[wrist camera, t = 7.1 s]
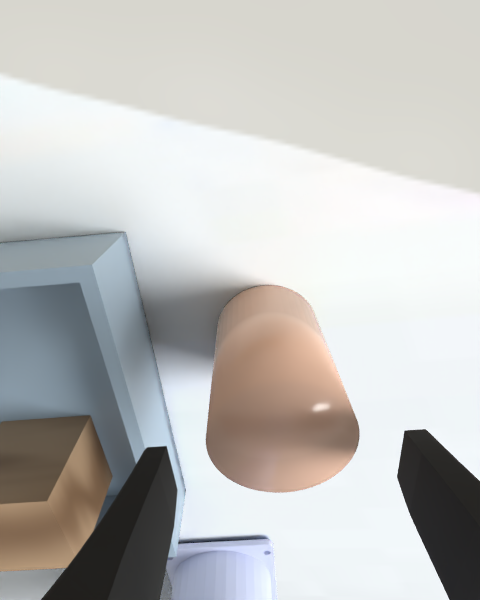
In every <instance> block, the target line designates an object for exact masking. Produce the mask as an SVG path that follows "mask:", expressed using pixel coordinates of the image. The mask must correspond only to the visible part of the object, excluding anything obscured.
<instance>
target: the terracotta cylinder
mask: <svg viewBox="0 0 480 600" xmlns="http://www.w3.org/2000/svg"><path fill="white" fill-rule="evenodd" d="M358 442H359V426H358V422H357V419H356V417H355V414H354V412H353V409H352V407H351V404H350V402H349V399H348V397H347V394H346V392H345V389H344V386H343V384H342V381H341V379H340V376H339V374H338V371H337V369H336V366H335V364H334V361H333V359H332V356H331V354H330V351H329V349H328V346H327V344H326V341H325V339H324V336H323V334H322V331H321V329H320V326H319V323H318V321H317V318H316V316H315V313H314V311H313V309H312V307H311V306H310V304H309V303H308V302H307V300H305V299H304V298H303V297H302V296H301V295H299V294H298V293H297V292H295V291H293V290H291V289H288V288H285V287H281V286H274V285H263V286H256V287H253V288H250V289H247V290H244V291H243V292H241V293H239V294H237V295H236V296H235V297H233V298H232V299H231V300H230V301H229V302H228V303H227V304H226V306H225V307H224V309H223V310H222V312H221V314H220V317H219V320H218V325H217V335H216V345H215V355H214V364H213V374H212V384H211V394H210V404H209V413H208V423H207V433H206V447H207V451H208V455H209V457H210V459H211V461H212V462H213V464H214V465H215V467H216V468H217V469H218V470H219V471H220V472H221V473H222V474H223V475H225V476H226V477H227V478H229V479H230V480H232V481H233V482H235V483H237V484H239V485H242V486H244V487H247V488H250V489H254V490H258V491H265V492H292V491H298V490H303V489H307V488H310V487H313V486H316V485H318V484H321V483H323V482H325V481H327V480H329V479H330V478H332V477H333V476H335V475H336V474H337V473H339V472H340V471H341V470H342V469H343V468H344V467H345V466H346V465H347V464H348V463H349V461H350V460H351V459H352V457H353V455H354V453H355V452H356V449H357V446H358Z"/></svg>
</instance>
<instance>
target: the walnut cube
mask: <svg viewBox="0 0 480 600" xmlns="http://www.w3.org/2000/svg"><path fill="white" fill-rule="evenodd" d="M112 477H113V475H112V473H111V470H110V467H109V465H108V462H107V459H106V456H105V454H104V451H103V448H102V445H101V443H100V440H99V437H98V435H97V432H96V429H95V426H94V424H93V421H92V418H91V415H86V416H72V417H58V418H44V419H30V420H16V421H2V422H1V424H0V572H1V571H19V570H37V569H55V568H67V567H68V565H69V564H70V563H71V561H72V560H73V559H74V557H75V556H76V555H77V553H78V552H79V551H80V549H81V548H82V546H83V545H84V544H85V542H86V541H87V539H88V538H89V537H90V535H91V534H92V532H93V531H94V528H95V525H96V522H97V520H98V517H99V514H100V511H101V508H102V505H103V503H104V500H105V497H106V494H107V491H108V488H109V486H110V483H111V480H112Z"/></svg>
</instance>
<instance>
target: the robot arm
mask: <svg viewBox="0 0 480 600" xmlns="http://www.w3.org/2000/svg"><path fill="white" fill-rule="evenodd" d="M397 478H398V481H399V484H400V487H401V490H402V493H403V496H404V499H405V502H406V505H407V507H408V510H409V513H410V515H411V518H412V520H413V522H414V524H415V526H416V529H417V531H418V533H419V535H420V537H421V539H422V542H423V544H424V546H425V548H426V550H427V552H428V554H429V557H430V559H431V561H432V563H433V565H434V567H435V569H436V572H437V574H438V576H439V578H440V580H441V582H442V584H443V587H444V589H445V591H446V593H447V595H448V597H449V599H450V600H480V481H479V480H478V479H477V478H476V477H475V476H474V475H473V474H472V473H470V472H469V471H468V470H467V469H466V468H465V467H464V466H463V465H462V464H461V463H460V462H459V461H458V460H457V459H456V458H455V457H454V456H453V455H452V454H451V453H450V452H449V451H448V450H446V449H445V448H444V447H443V446H442V445H441V444H440V443H439V442H438V441H437V440H436V439H435V438H434V437H433V436H432V435H431V434H430V433H429V432H428V431H427V430H426V429H423V430H408V431H405V432H404V438H403V444H402V450H401V456H400V462H399V469H398V475H397ZM177 492H178V489H177V485H176V481H175V477H174V473H173V469H172V465H171V461H170V457H169V453H168V449H167V446H159V447H147V448H146V449H145V450H144V451H143V453H142V455H141V457H140V459H139V460H138V462H137V464H136V465H135V467H134V469H133V471H132V472H131V474H130V476H129V477H128V479H127V481H126V482H125V484H124V485H123V487H122V489H121V490H120V492H119V493H118V495H117V497H116V498H115V500H114V501H113V503H112V504H111V506H110V507H109V509H108V510H107V512H106V514H105V515H104V517H103V518H102V520H101V521H100V522H99V524H98V525H97V527H96V528H95V530H94V531H93V532H92V534H91V535H90V537H89V538H88V539H87V541H86V542H85V544H84V545H83V546H82V548H81V549H80V551H79V552H78V553H77V555H76V556H75V557H74V559H73V560H72V561H71V563H70V564H69V565H68V567H67V568H66V569H65V571H64V572H63V573H62V574H61V576H60V577H59V578H58V579H57V581H56V582H55V583H54V584H53V586H52V587H51V588H50V589H49V591H48V592H47V593H46V594H45V596H44V597H43V598H42V599H41V600H159V599H160V594H161V589H162V584H163V579H164V575H165V570H167V573H168V576H169V580H170V583H171V586H172V595H171V600H278V599H277V586H276V573H275V560H274V547H273V542H272V541H271V540H269V539H258V540H240V541H222V542H204V543H185V544H178V548H177V555H176V557H168V555H169V550H170V545H171V540H172V535H173V529H174V523H175V513H176V503H177Z"/></svg>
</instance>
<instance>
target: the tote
mask: <svg viewBox="0 0 480 600" xmlns="http://www.w3.org/2000/svg"><path fill="white" fill-rule="evenodd" d="M86 415H91V418H92V421H93V424H94V426H95V429H96V432H97V435H98V437H99V440H100V443H101V445H102V448H103V451H104V454H105V456H106V459H107V462H108V465H109V467H110V470H111V473H112V475H113V477H112V480H111V483H110V486H109V488H108V491H107V494H106V497H105V500H104V503H103V505H102V508H101V511H100V514H99V517H98V520H97V522H96V525H95V528H96V527H97V525H98V524H99V522H100V521H101V520H102V518H103V517H104V515H105V514H106V512H107V510H108V509H109V507H110V506H111V504H112V503H113V501H114V500H115V498H116V497H117V495H118V493H119V492H120V490H121V489H122V487H123V485H124V484H125V482H126V481H127V479H128V477H129V476H130V474H131V472H132V471H133V469H134V467H135V465H136V464H137V462H138V460H139V459H140V457H141V455H142V453H143V451H144V450H145V449H146V448H147V447H159V446H167V449H168V453H169V457H170V461H171V465H172V469H173V473H174V477H175V481H176V485H177V489H178V492H177V503H176V513H175V523H174V529H173V535H172V540H171V545H170V550H169V555H168V557H176V555H177V548H178V541H179V534H180V527H181V520H182V513H183V506H184V499H185V492H186V489H185V485H184V480H183V476H182V472H181V467H180V463H179V459H178V455H177V450H176V446H175V442H174V438H173V433H172V429H171V425H170V420H169V416H168V412H167V408H166V403H165V399H164V395H163V390H162V386H161V382H160V378H159V373H158V369H157V365H156V360H155V356H154V352H153V348H152V343H151V339H150V335H149V330H148V326H147V322H146V318H145V313H144V309H143V305H142V300H141V296H140V292H139V288H138V283H137V279H136V275H135V271H134V266H133V262H132V258H131V253H130V249H129V245H128V241H127V236H126V232H120V233H108V234H97V235H85V236H73V237H62V238H50V239H39V240H27V241H16V242H4V243H0V424H1V422H2V421H16V420H30V419H44V418H58V417H72V416H86ZM95 528H94V530H95Z"/></svg>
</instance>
